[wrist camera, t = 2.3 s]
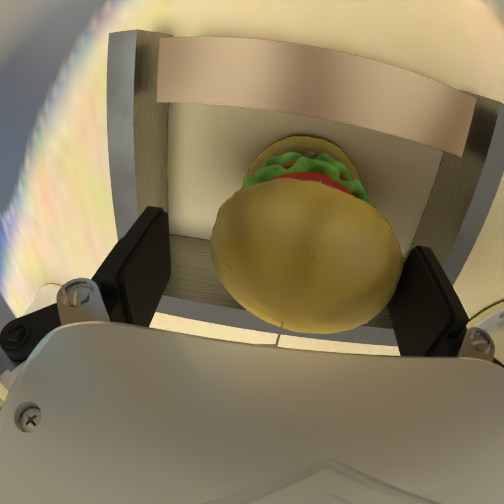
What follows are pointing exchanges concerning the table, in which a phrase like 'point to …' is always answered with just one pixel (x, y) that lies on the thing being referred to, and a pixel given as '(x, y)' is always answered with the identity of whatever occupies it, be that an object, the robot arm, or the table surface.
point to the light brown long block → (314, 87)
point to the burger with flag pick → (305, 241)
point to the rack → (198, 250)
